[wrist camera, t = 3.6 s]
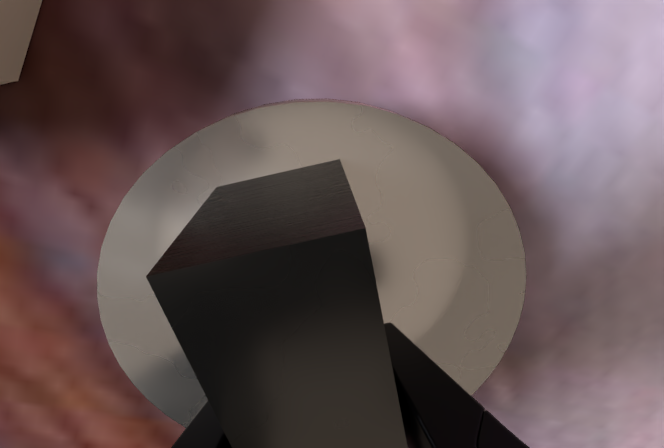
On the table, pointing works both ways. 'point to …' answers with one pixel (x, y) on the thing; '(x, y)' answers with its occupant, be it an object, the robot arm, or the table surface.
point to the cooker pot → (15, 35)
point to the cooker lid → (308, 272)
